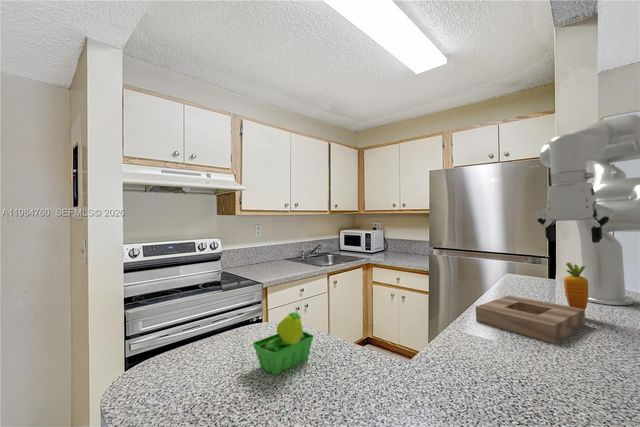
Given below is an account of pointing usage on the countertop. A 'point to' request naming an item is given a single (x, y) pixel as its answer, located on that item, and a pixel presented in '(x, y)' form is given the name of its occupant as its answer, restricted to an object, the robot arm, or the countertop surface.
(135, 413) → the countertop surface
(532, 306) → the socket block
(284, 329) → the fruit basket
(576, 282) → the carrot
